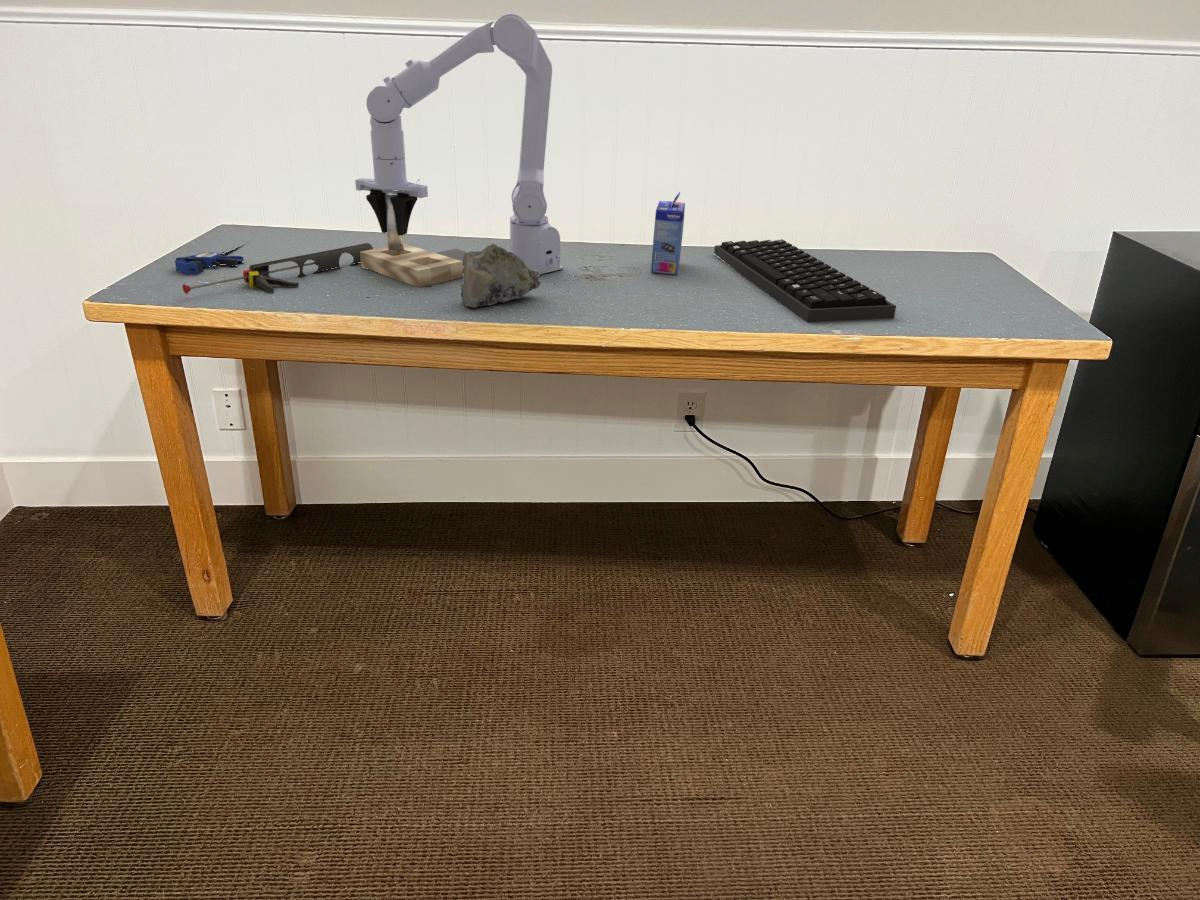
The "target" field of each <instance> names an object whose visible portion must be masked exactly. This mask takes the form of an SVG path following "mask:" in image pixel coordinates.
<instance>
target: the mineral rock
mask: <svg viewBox="0 0 1200 900" xmlns="http://www.w3.org/2000/svg"><path fill="white" fill-rule="evenodd" d="M465 252H466V253H465V254H464V257H463V264H464V265H463V272H462V273H463V284H462V285H461V293H460V296H461V300H462V302H463V304H464V306H465V307H467V308H469V307H470V308H472V309H473V308H474V309H476V308H478V307H483V306H493V305H495V304H498V303H506V302H510V301H513V300H518V299H520V298H522V297H524V296H525V295H526V294H528V293H529V292H531V291H533V290H537V289H538V288H539V287H540V286H541V281H539V280H540V276H541V274H540V273H539V272H537V271H535V270H530V269H529V268H528V267H527V266H526V265H525V264H524V261H523V260H522V259H520V258H519V257H518V256H516V255H515V254H513V253H511V251H508V249H505V248H503V247H501V246H498V245H497V244H495V243H491V244H490V245H487V246H485V248H483V249H482V250H481V251H479V250H476V251H473V250H471V251H465Z"/></svg>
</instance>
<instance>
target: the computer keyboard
mask: <svg viewBox="0 0 1200 900" xmlns="http://www.w3.org/2000/svg"><path fill="white" fill-rule="evenodd" d="M714 253H715V254H716V255H717V256H719V257H720V258H721V259H722V260H724V261H725V262H726V263H727V264H729V265H730V266H731V267H732V268H734V269H735V270H736V271H735V270H734V269H733V270H734V271H735V272H736V273H738V274H739V273H740V275H741V276H742V277H744V279H746V280H748V282H751V283H752V284H754V286H756V287H757V288H759V289H760V290H761V291H763V292H764V293H766V295H769V296H770V297H771V298H773V299H774V300H775V301H777V302H778V303H780V305H782V306H784V307H785V308H787V309H788V310H790V312H792V313H793V314H795V315H797V316H798V317H799V318H800V319H802V320H803V321H804V322H806V323H822V322H824V323H826V322H840V321H841V322H843V321H844V322H845V321H863V320H882V319H883V320H884V319H894V318H895V316H896V315H895V313H896V309H897V305H896V304H894V303H892V302H890V301H888V300H887V297H886V296H885V295H883V294H881V293H879V292H877V291H875V290H873V289H870V287H869V286H867V285H865V284H862V283H861V282H859V281H858V280H856V279H855V280H854V278H852V277H851V276H849V275H847V276H846V274H845V273H844V272H841V271H839V270H838V269H836V268H834V267H832V266H830V265H829V264H827V263H825V262H824V261H822V260H820V259H818V258H816V257H814V256H813V255H811V254H810V253H808V252H805V251H804V250H802V249H800V248H798V247H797V246H795V245H793V244H791V243H790V242H787V241H786V240H784V239H776V240H771V239H767V240H766V239H765V240H761V241H760V240H757V239H756V240H755V239H754V240H749V241H747V240H741V241H739V240H738V241H735V242H734V241H732V240H728V241H723V242H721V245H720V244H719V245H714V249H713V254H714ZM727 264H726V265H727ZM730 266H729V267H730ZM731 267H730V268H731ZM732 268H731V269H732Z"/></svg>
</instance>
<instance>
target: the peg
mask: <svg viewBox="0 0 1200 900" xmlns="http://www.w3.org/2000/svg"><path fill="white" fill-rule="evenodd" d="M395 196H397V194H391V193H387V194H385V210H386V227H387V233H386V241H387V242H386V243H387V247H388V250H393V251H399V250H404V244H405V243H404V242H405V239H404V235H398V233H397V228H396V218H395V213H394V209H393V206H392V203H391V200H390V198H391V197H395Z"/></svg>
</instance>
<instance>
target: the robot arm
mask: <svg viewBox="0 0 1200 900" xmlns="http://www.w3.org/2000/svg"><path fill="white" fill-rule="evenodd" d="M493 24H494V25H493ZM492 26H493V27H492ZM494 46H496V47H497V49H498V50H499V51H500V52H501V53H503V54H504V55H506V56H508V57H509V58H511V59H512V60H514V61H515V63H516V65H517V66H518V67H519V68H520V69H521V71H522V72H523V73H524V74H525V86H524V99H523V109H522V110H523V111H522V114H523V115H522V123H521V124H522V125H521V126H522V128H521V140H520V141H521V142H520V152H519V153H520V154H519V164H518V165H519V168H518V175H517V182H516V184H515V186H514V188H513V189H512V193H511V202H512V204H511V205H512V211H513V212H512V213H513V215H511V216H510V218H509V228H510V229H509V238H510V240H509V241H510V242H509V243H510V244H509V245H510V252H511V253H513V254H515V255H516V256H518V257H519V258H520V259H522V260H523V261H524V264H525V265H526V266H527V267H528V268H529V269H530V270H535V271H537V272H539V273H540V275H543V274H547V273H551V272H555V271H559V270H563V268H564V266H563V265H561V235H560V233H559V231H558V229H557V228H555V227H554V226H551V224H550V223H549V217H548V216H547V215H546V213H547V208H548V204H547V200H546V198H545V193H544V182H545V181H544V179H545V177H544V176H545V175H544V174H545V173H544V170H545V162H546V161H545V160H546V159H545V157H546V147H547V146H546V145H547V138H548V137H547V135H548V124H549V115H550V114H549V111H550V100H551V90H552V89H551V88H552V77H553V65H552V62H551V60H550V58H549V55H547V53H546V50H545V49H544V46H543V44H542V42H541V41H540V38H539V36H538V34H537V32H536V30H535V29H534V28H533V27H532V26H531V25H530V24H529V23H528V22H527V21H526V20H525V18H523V17H522V16H521V15H519V14H516V13H504V14H503V15H500V16H499V17H498V18H497V19H496V20H495V22H494V20H491V21H489V22H487V23H485V24H482V25H480V26H478V27H476V28H474V29H472V30H470V31H469V32H468V33H466V34H465V35H464V36H462V37H461V38H460V39H459V40H457V41H455V42H454V43H453V44H452V45H450V46H449V47H448V48H446V49H444V50H443V51H442V52H440V53H439V54H438V55H436V56H435V57H433V58H432V59H431V60H427V59H423V58H417V59H415V60H413V59H411V58H410V59H409V60H407V61H406V62H405V64H404V65H405V67H404V68H402V69H401V70H400V71H398V72H397V73H395V74H393V75H392V76H391V77H390V76H388V75H387V76H385V77H384V78H383V80H382V81H383V82H384V84H382V85H377V86H374V88H373V89H371V91H370V92H369V94H368V95H367V98H366V109H367V111H368V113H369V115H370V120H369V124H370V128H371V130H370V142H371V143H370V144H371V153H372V164H373V177H374V178H364V177H361V178H357V179H355V180H354V181H355V182H354V183H355V190H356V191H360V192H361V191H365V192H367V191H368V192H369V194H367V195H366V197H365V199H366V201H367V202H368V204H369V205H370V207H371V209H372V210H373V213H374V214H375V217H376V219H377V221H378V225H379V227H380V230H381V231H380V232H381V233H382V234H387V227H386V210H385V194H387V193H391V194H397V196H395V197H391V198H390V200H391V203H392V206H393V209H394V213H395V218H396V228H397V233H398V235H403V236H404V235H407V234H408V230H409V223H410V219H411V215H412V211H413V209H414V207H415V205H416V203H417V201H418V199H423V198H426V197H428V195H429V193H428V192H429V191H428V185H425V184H419V183H414V182H410V181H408V180H407V168H406V167H407V165H406V153H405V152H406V150H405V138H404V130H403V128H402V127H403V125H402V115H401V113H402V112H403V110H404V108H405V109H410V108H412V107H413V106H415V105H417V103H420V102H421V101H422V100H424V99H425V98H427V97H428V96H429V95H431V94H433V93H435V91H437V90H439V85H440V79H441V77H443V76H444V75H445V74H447V73H449V72H451V71H452V70H453V69H455V68H456V67H459V66H461V64H463V63H464V62H466V61H467V60H469V59H471V58H472V57H474V56H475V55H477V54H485V53H487V54H489V53H490V54H491V53H495V47H494Z"/></svg>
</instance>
